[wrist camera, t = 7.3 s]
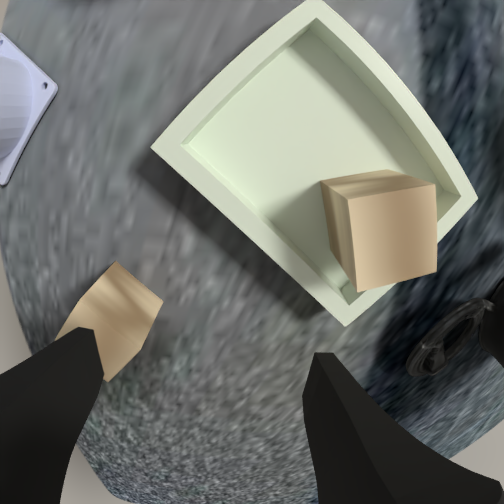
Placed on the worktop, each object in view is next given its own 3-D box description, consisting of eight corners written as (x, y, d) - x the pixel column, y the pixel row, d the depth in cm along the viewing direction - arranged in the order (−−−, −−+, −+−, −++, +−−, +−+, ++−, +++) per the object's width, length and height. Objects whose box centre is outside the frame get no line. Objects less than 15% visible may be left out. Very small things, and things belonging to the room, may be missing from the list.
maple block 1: (88, 298, 19) (54, 339, 14) (116, 260, 18) (79, 299, 13) (132, 334, 20) (108, 382, 15) (163, 301, 19) (140, 349, 14)
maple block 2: (330, 250, 17) (357, 292, 12) (319, 180, 16) (347, 199, 11) (393, 236, 17) (436, 271, 12) (387, 168, 15) (435, 184, 11)
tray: (164, 145, 16) (150, 147, 13) (306, 12, 13) (314, -6, 10) (335, 304, 19) (345, 326, 17) (455, 189, 16) (478, 198, 14)
